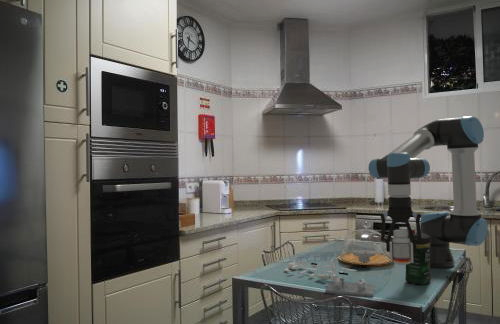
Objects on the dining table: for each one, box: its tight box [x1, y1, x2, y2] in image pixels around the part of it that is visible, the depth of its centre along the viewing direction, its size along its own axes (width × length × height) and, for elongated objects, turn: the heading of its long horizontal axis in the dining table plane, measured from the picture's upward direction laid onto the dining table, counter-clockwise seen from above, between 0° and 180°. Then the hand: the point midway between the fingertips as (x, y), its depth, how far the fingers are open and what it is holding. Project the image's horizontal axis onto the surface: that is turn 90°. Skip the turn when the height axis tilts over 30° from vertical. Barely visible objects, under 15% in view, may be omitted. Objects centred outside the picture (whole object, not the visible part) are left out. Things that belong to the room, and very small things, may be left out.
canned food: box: [398, 226, 416, 235], centre depth 217 cm, size 8×8×11 cm
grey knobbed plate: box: [325, 276, 376, 298], centre depth 144 cm, size 16×12×4 cm
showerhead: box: [352, 248, 376, 264], centre depth 179 cm, size 9×7×10 cm
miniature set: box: [283, 258, 358, 281], centre depth 164 cm, size 6×35×12 cm
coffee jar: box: [405, 232, 432, 285], centre depth 153 cm, size 10×8×19 cm
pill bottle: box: [391, 229, 411, 265], centre depth 142 cm, size 6×6×11 cm
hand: (401, 261), depth 142 cm, fingers closed on pill bottle, 6 cm apart
